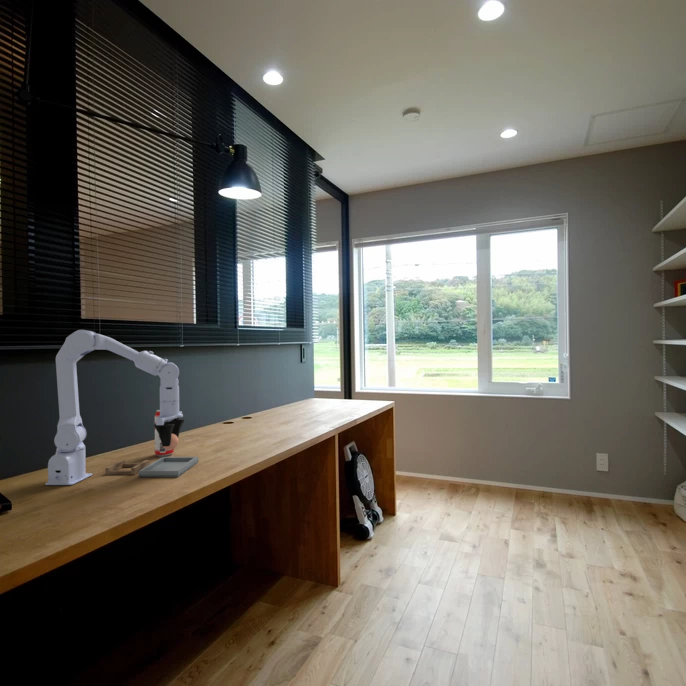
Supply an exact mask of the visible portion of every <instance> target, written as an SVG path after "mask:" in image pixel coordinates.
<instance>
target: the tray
mask: <svg viewBox="0 0 686 686" xmlns="http://www.w3.org/2000/svg"><path fill="white" fill-rule="evenodd" d="M198 463H199V456H163V457H160V458H159V459H157V460H155V461H154V462H152V463H149V465H148V466H146V467H145V468H143V469H141V470H140V471H139V472H138V478H179V477H181V476H182V475H183V474H184V473H186V472H188V470H190V469H191V468H192V467H194V466H195V465H196V464H198Z"/></svg>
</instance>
